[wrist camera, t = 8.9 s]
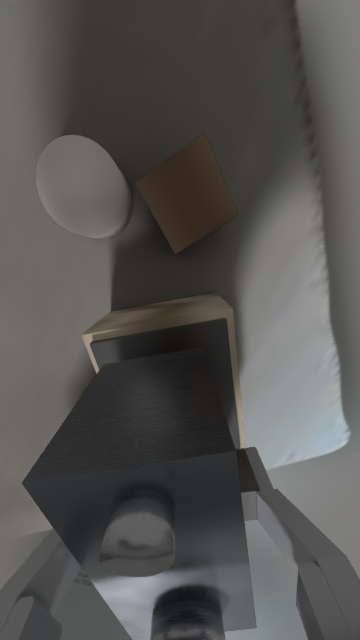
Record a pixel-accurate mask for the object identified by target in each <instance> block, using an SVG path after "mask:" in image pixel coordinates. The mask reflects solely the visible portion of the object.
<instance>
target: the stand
mask: <svg viewBox="0 0 360 640" xmlns="http://www.w3.org/2000/svg"><path fill="white" fill-rule="evenodd" d="M82 338H83V341H84V343H85V346H86V348H87V351H88V353H89V356H90V358H91V361H92V364H93V366H94V369H95V371H96V374H97V373H98V371H99V370H100V369H101V367H102V366H103V364H108V363H114V362H120V361H126V360H131V359H137V358H143V357H149V356H155V355H160V354H166V353H172V352H178V351H183V350H189V349H195V348H201V347H204V350H205V353H206V356H207V359H208V362H209V366H210V369H211V372H212V375H213V378H214V382H215V385H216V388H217V391H218V395H219V398H220V401H221V404H222V407H223V411H224V414H225V417H226V420H227V423H228V427H229V430H230V433H231V436H232V439H233V443H234V446H235V449H241V448H246V446H245V435H244V424H243V413H242V402H241V391H240V380H239V369H238V358H237V347H236V336H235V325H234V314H233V308H232V307H231V306H230V305H229V304H228V303H227V302H226V301H225V300H223V299H222V298H221V297H220V296H219V295H218V294H217V293H216V292H214V293H209V294H203V295H198V296H193V297H187V298H182V299H176V300H171V301H165V302H160V303H154V304H149V305H143V306H138V307H133V308H127V309H122V310H116V311H111V312H109V313H108V314H107V315H106V316H104V317H103V318H102V319H101V320H99V321H98V322H97V323H96V324H95V325H93V326H92V327H91V328H90V329H88V330H87V331H86V332H85V333H83V334H82Z"/></svg>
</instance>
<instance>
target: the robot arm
mask: <svg viewBox="0 0 360 640" xmlns="http://www.w3.org/2000/svg"><path fill="white" fill-rule="evenodd" d="M236 454H237V463H238V471H239V480H240V489H241V497H242V506H243V514H244V521H247V520H258V521H259V522H260V524H261V525H262V526H263V528H264V529H265V530H266V532H267V533H268V534H269V536H270V537H271V538H272V540H273V541H274V543H275V544H276V545H277V546H278V548H279V549H280V551H281V552H282V553H283V555H284V556H285V557H286V559H287V560H288V561H289V562H290V564H291V565H292V566H293V568H294V569H295V570H296V572H297V573H298V581H297V596H296V606H297V609H298V611H299V614H300V617H301V620H302V623H303V626H304V629H305V632H306V635H307V638H308V640H360V579H359V577H358V575H357V574H356V572H355V570H354V568H353V566H352V565H351V563H350V561H349V560H348V558H347V556H346V555H345V554H344V553H343V552H342V551H341V550H340V549H339V548H337V546H336V545H335V544H334V543H332V542H331V541H330V540H329V539H328V538H327V537H326V536H325V535H324V534H323V533H322V532H321V531H320V530H319V529H318V528H317V527H316V526H315V525H314V524H313V523H312V522H311V521H309V519H308V518H306V516H305V515H304V514H303V513H301V512H300V511H299V510H298V509H297V508H296V507H295V506H294V505H293V504H292V503H291V502H290V501H289V500H288V499H287V498H286V497H285V496H284V495H283V494H282V493H281V492H280V491H279V490H278V489H273V486H272V484H271V482H270V479H269V477H268V475H267V472H266V470H265V468H264V465H263V463H262V461H261V458H260V456H259V453H258V451H257V449H256V448H255V447H249V448H241V449H236ZM80 568H81V566H80V565H79V563H78V562H77V560H76V559H75V558H74V556H73V555H72V553H71V552H70V551H69V549H68V548H67V546H66V545H65V544H64V542H63V541H62V539H61V538H60V536H59V535H58V534H57V532H56V531H55V529H54V528H53V529H52V530H51V531H50V533H49V534H48V535H47V536H46V537H45V538H44V539H43V541H42V542H41V543H40V544H39V545H38V546H37V548H36V549H35V550H34V551H33V552H32V554H31V555H30V556H29V557H28V558H27V559H26V560H25V562H24V563H23V564H22V565H21V566H20V567H19V569H18V570H17V571H16V572H15V573H14V574H13V576H12V577H11V578H10V579H9V580H8V581H7V583H6V584H5V585H4V586H3V587H2V588H1V590H0V640H60V637H61V634H62V625H61V624H60V623H59V622H58V621H57V620H56V619H55V618H54V617H53V614H54V612H55V611H56V609H57V607H58V606H59V604H60V602H61V600H62V599H63V597H64V595H65V594H66V592H67V590H68V589H69V587H70V585H71V584H72V582H73V580H74V579H75V577H76V575H77V574H78V572H79V570H80Z"/></svg>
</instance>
